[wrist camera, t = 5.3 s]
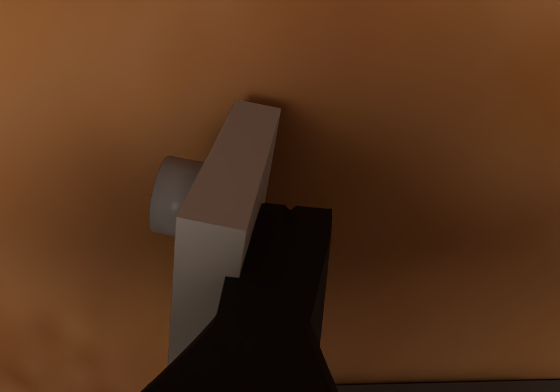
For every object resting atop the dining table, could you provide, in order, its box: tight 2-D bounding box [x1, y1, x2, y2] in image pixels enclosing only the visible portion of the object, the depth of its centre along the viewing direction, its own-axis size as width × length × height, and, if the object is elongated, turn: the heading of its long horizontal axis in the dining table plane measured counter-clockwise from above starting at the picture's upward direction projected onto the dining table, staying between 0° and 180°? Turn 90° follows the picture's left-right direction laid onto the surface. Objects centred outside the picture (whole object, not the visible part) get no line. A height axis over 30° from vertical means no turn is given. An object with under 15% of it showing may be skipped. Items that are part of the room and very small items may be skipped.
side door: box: [149, 100, 281, 365], centre depth 9 cm, size 2×8×4 cm, turn 171°
